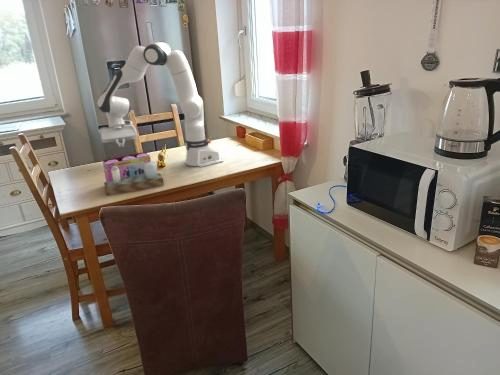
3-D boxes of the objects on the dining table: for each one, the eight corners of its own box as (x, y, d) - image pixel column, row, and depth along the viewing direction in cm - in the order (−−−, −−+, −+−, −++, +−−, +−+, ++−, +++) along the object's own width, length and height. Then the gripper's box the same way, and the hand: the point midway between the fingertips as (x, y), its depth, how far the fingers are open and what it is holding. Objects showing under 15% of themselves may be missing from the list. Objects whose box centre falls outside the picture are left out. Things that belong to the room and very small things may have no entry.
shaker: (120, 180, 199) (117, 164, 196) (121, 183, 196) (118, 166, 193) (113, 182, 198) (110, 165, 195) (114, 184, 195) (111, 167, 192)
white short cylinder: (156, 173, 207) (155, 161, 205) (159, 177, 202) (157, 164, 199) (144, 175, 205) (142, 162, 202) (146, 179, 199) (144, 166, 197)
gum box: (150, 174, 219) (147, 151, 214) (155, 178, 213) (152, 154, 207) (106, 184, 207) (101, 160, 202) (110, 189, 201) (106, 164, 196)
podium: (160, 180, 210) (159, 172, 209) (164, 185, 203) (163, 177, 202) (105, 189, 200) (103, 182, 198) (106, 195, 193) (105, 187, 192)
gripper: (97, 125, 226) (102, 146, 221) (134, 120, 233) (139, 140, 229) (98, 131, 231) (103, 151, 227) (134, 126, 239) (139, 146, 234)
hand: (121, 146), depth 228 cm, fingers closed
